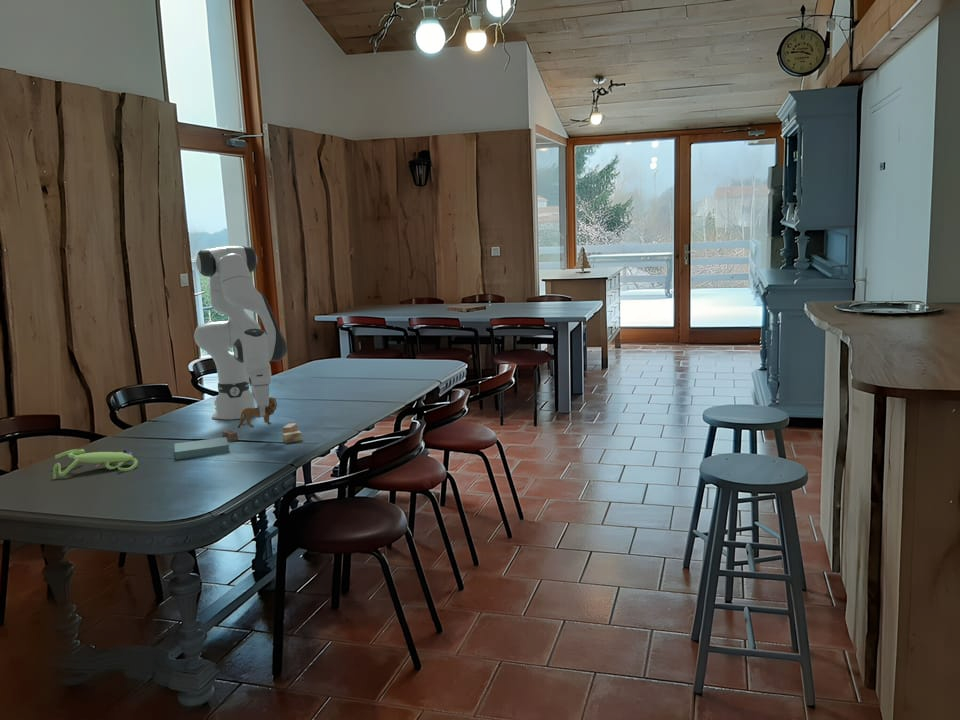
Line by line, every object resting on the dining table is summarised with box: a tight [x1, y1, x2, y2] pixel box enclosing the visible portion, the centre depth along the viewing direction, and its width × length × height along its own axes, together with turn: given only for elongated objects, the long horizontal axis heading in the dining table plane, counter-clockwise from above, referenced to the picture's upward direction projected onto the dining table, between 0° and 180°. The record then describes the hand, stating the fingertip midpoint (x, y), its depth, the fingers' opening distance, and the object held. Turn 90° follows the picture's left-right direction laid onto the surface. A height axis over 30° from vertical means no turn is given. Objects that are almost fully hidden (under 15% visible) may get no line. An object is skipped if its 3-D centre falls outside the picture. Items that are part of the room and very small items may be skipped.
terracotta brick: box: [282, 422, 298, 434], centre depth 286 cm, size 6×3×3 cm, turn 172°
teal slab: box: [174, 436, 230, 460], centre depth 266 cm, size 12×17×2 cm
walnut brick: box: [221, 429, 239, 443], centre depth 281 cm, size 6×3×3 cm, turn 43°
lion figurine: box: [237, 396, 278, 429], centre depth 276 cm, size 15×5×9 cm, turn 120°
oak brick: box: [281, 430, 303, 444], centre depth 275 cm, size 6×3×3 cm, turn 121°
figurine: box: [52, 448, 139, 480], centre depth 253 cm, size 18×27×6 cm
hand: (261, 414), depth 277 cm, fingers closed on lion figurine, 4 cm apart
